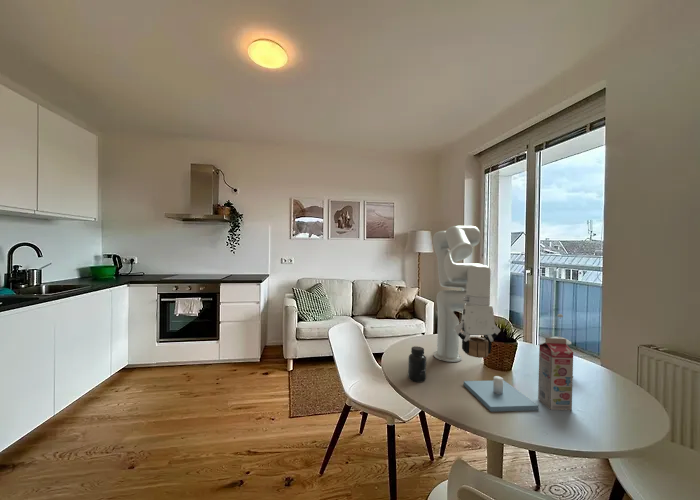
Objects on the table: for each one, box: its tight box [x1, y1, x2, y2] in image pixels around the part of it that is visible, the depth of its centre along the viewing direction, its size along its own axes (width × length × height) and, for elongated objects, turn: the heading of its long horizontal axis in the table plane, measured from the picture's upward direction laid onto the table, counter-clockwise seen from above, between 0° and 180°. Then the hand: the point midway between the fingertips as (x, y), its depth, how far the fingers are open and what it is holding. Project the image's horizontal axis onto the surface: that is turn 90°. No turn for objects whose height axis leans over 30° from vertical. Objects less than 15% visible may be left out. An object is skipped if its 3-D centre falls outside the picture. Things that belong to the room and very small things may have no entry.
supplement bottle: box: [407, 345, 427, 383], centre depth 115 cm, size 7×7×12 cm
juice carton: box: [537, 337, 574, 411], centre depth 98 cm, size 7×7×22 cm
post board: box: [463, 375, 539, 412], centre depth 102 cm, size 18×16×6 cm
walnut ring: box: [464, 335, 489, 359], centre depth 102 cm, size 7×7×5 cm
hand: (476, 351), depth 102 cm, fingers closed on walnut ring, 7 cm apart
